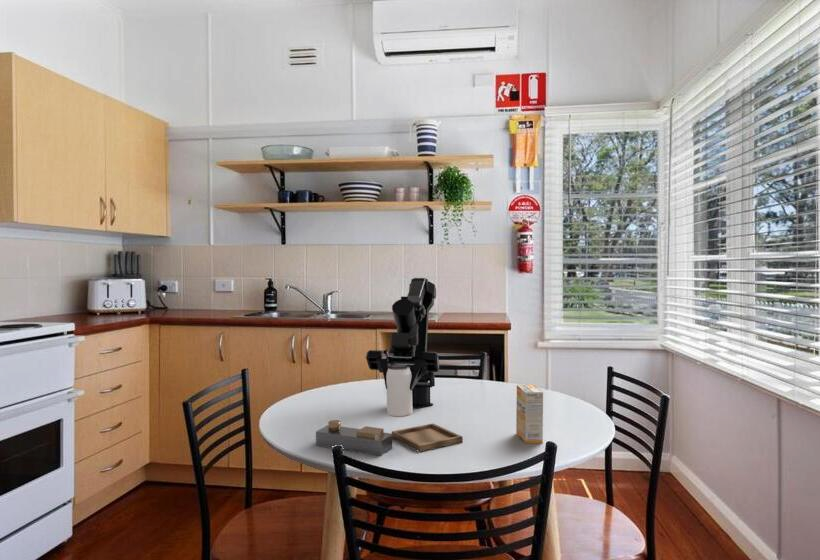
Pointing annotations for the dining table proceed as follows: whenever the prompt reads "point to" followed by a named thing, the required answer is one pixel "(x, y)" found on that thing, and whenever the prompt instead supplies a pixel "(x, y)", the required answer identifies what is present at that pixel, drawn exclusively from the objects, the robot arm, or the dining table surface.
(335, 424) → the iron block
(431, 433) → the walnut tray
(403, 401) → the can
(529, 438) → the supplement box
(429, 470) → the dining table surface
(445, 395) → the dining table surface
